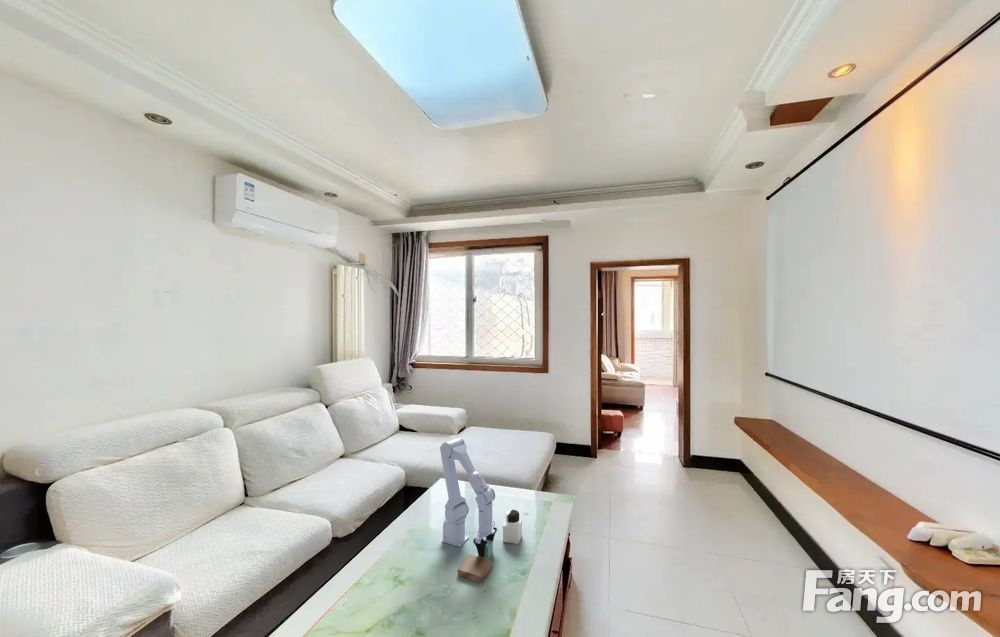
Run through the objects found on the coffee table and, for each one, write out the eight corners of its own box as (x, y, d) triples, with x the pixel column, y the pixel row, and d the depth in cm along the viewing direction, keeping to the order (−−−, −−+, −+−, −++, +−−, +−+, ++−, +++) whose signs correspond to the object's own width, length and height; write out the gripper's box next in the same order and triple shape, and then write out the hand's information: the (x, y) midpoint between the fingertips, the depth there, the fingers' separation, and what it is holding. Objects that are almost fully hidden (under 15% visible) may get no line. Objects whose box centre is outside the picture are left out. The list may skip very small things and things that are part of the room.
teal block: (478, 556, 157) (478, 544, 157) (483, 550, 162) (483, 538, 161) (488, 559, 156) (488, 547, 156) (492, 553, 160) (492, 541, 160)
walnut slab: (457, 577, 146) (457, 569, 146) (470, 561, 155) (470, 554, 155) (481, 584, 142) (481, 576, 141) (492, 568, 151) (492, 560, 151)
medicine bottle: (522, 535, 172) (522, 509, 172) (518, 544, 165) (518, 517, 165) (506, 533, 174) (506, 506, 174) (502, 542, 167) (502, 514, 167)
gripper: (486, 529, 150) (486, 564, 150) (501, 512, 163) (501, 543, 164) (470, 525, 153) (470, 559, 153) (486, 508, 166) (486, 539, 166)
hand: (485, 551), depth 159 cm, fingers open, 7 cm apart
